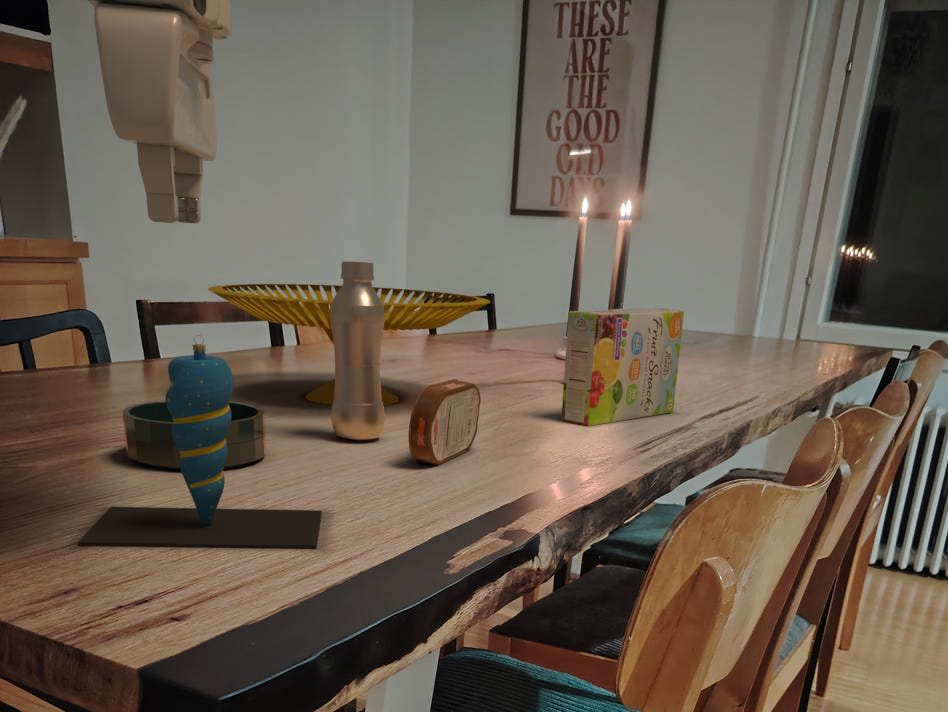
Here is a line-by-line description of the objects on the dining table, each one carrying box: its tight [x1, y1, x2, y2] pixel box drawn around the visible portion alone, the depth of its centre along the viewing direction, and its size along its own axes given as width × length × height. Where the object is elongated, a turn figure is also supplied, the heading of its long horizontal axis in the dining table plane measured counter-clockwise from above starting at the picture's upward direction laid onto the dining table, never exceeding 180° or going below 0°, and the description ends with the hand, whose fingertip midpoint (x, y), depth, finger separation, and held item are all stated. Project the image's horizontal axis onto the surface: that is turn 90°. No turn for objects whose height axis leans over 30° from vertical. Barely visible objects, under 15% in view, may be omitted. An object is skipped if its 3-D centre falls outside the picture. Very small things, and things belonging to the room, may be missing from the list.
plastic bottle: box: [329, 260, 386, 442], centre depth 108 cm, size 6×7×20 cm
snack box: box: [560, 307, 685, 427], centre depth 133 cm, size 21×6×15 cm, turn 136°
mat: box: [77, 506, 323, 550], centre depth 76 cm, size 18×10×1 cm, turn 97°
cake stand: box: [207, 283, 491, 406], centre depth 137 cm, size 40×40×15 cm
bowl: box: [121, 400, 267, 471], centre depth 98 cm, size 14×14×5 cm
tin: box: [408, 378, 482, 466], centre depth 104 cm, size 15×3×8 cm, turn 159°
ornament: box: [165, 334, 235, 525], centre depth 73 cm, size 5×5×15 cm
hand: (176, 222), depth 68 cm, fingers open, 8 cm apart
